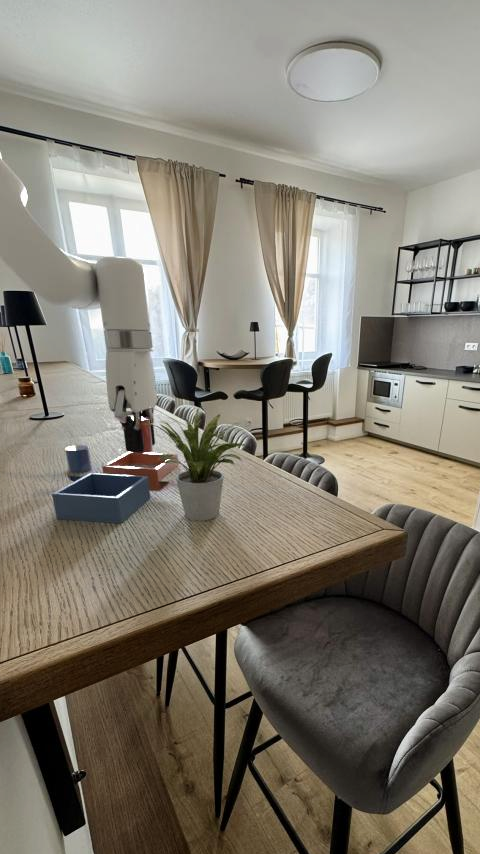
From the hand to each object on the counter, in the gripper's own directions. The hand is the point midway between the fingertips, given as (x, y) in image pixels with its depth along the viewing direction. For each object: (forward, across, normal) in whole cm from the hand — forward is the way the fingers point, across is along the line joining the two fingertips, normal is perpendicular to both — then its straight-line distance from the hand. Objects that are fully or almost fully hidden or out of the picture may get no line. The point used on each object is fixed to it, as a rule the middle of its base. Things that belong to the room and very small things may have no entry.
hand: (141, 447), depth 76 cm
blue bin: (+6, +14, 0) cm, 15 cm away
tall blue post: (+6, +1, -12) cm, 14 cm away
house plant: (+7, +15, +15) cm, 22 cm away
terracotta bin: (+6, 0, 0) cm, 6 cm away
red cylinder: (+1, 0, 0) cm, 1 cm away
